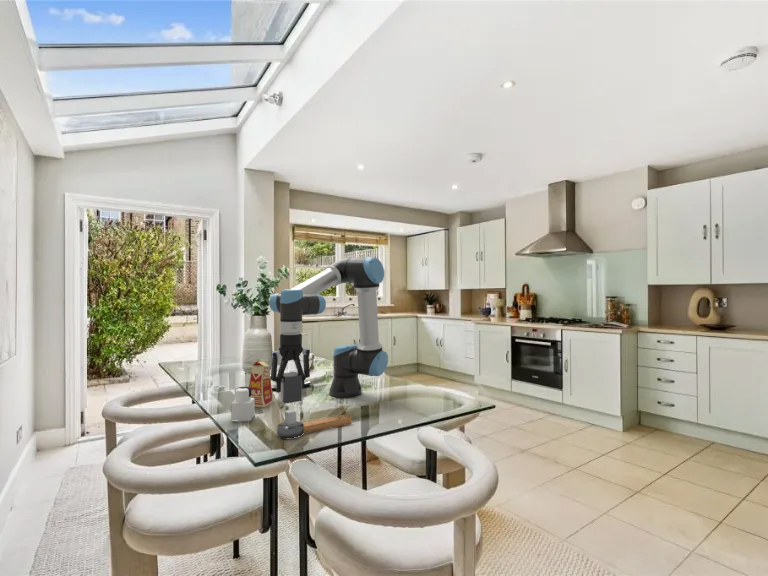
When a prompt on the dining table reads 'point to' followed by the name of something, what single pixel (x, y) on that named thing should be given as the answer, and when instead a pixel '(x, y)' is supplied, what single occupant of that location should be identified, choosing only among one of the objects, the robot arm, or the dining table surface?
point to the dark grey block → (292, 387)
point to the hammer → (308, 424)
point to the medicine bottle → (242, 405)
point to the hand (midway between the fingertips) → (290, 399)
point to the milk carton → (261, 384)
